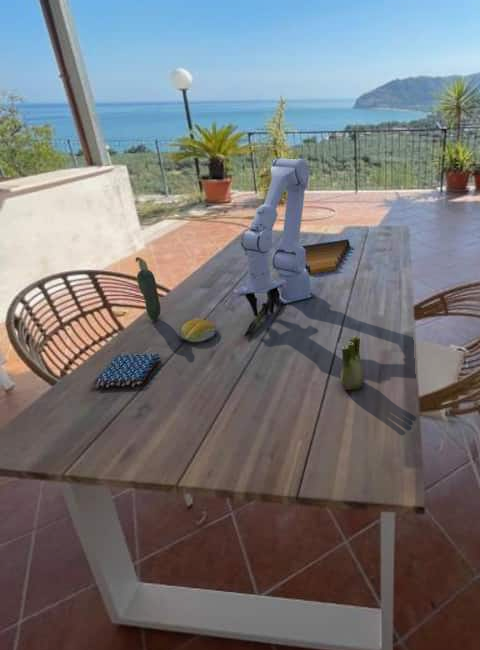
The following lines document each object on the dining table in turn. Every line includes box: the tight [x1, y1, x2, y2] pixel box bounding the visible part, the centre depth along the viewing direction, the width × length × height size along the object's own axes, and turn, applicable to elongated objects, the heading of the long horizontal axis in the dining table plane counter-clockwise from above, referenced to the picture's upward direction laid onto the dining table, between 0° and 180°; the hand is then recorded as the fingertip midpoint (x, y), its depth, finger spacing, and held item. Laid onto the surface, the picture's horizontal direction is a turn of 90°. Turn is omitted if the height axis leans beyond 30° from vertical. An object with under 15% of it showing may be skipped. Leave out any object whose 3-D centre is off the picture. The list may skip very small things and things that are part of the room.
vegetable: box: [135, 256, 161, 322], centre depth 109 cm, size 4×4×20 cm
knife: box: [244, 293, 281, 338], centre depth 114 cm, size 23×2×5 cm, turn 169°
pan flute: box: [292, 238, 351, 275], centre depth 158 cm, size 25×3×25 cm
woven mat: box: [93, 352, 161, 389], centre depth 91 cm, size 10×11×2 cm
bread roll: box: [180, 318, 217, 343], centre depth 105 cm, size 8×9×4 cm
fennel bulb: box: [339, 335, 364, 391], centre depth 85 cm, size 6×5×12 cm
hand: (263, 313), depth 114 cm, fingers closed on knife, 4 cm apart
